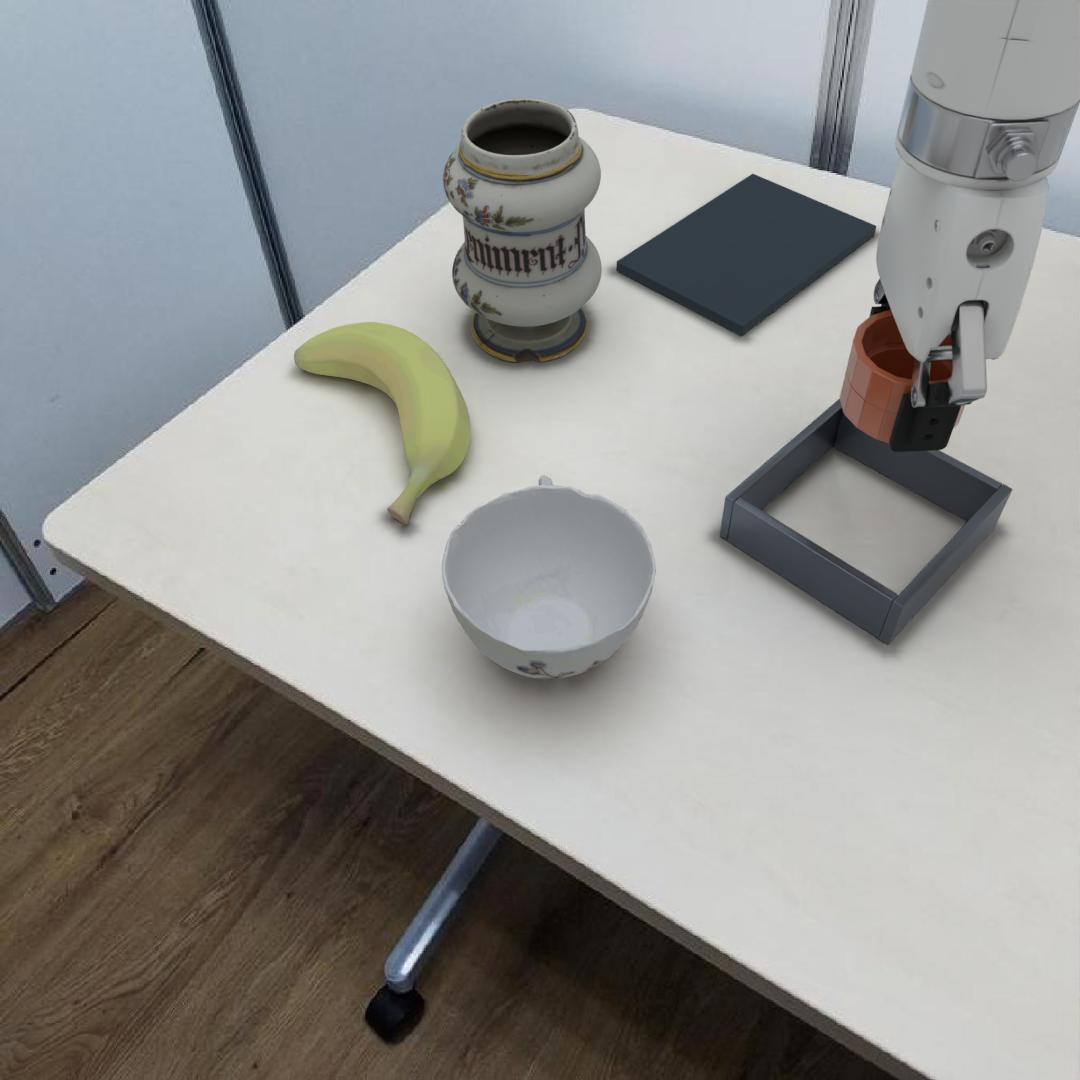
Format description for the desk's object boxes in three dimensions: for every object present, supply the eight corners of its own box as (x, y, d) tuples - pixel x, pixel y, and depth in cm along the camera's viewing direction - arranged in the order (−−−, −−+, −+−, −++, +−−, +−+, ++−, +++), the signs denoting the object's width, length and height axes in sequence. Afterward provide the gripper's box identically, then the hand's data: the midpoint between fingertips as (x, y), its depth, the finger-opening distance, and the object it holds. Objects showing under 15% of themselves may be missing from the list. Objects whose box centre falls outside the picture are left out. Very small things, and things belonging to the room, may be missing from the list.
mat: (751, 182, 100) (752, 173, 99) (874, 235, 93) (876, 225, 93) (616, 270, 91) (616, 261, 90) (741, 336, 84) (742, 326, 84)
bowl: (879, 358, 65) (896, 293, 61) (980, 407, 62) (1004, 341, 58) (816, 413, 62) (829, 349, 58) (918, 468, 59) (939, 404, 55)
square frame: (829, 437, 76) (840, 397, 73) (994, 528, 70) (1013, 488, 67) (719, 536, 70) (724, 496, 67) (887, 645, 64) (902, 607, 61)
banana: (439, 276, 79) (461, 478, 68) (463, 324, 84) (487, 521, 72) (280, 327, 81) (276, 531, 70) (311, 371, 86) (313, 570, 75)
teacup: (657, 721, 61) (665, 644, 55) (450, 727, 61) (435, 651, 55) (638, 532, 71) (643, 450, 65) (459, 538, 71) (448, 457, 65)
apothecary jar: (462, 379, 82) (437, 173, 68) (456, 291, 90) (433, 90, 76) (610, 366, 82) (615, 159, 69) (591, 279, 90) (592, 78, 77)
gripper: (1136, 219, 42) (1007, 506, 56) (1008, 34, 53) (926, 310, 67) (953, 227, 42) (869, 511, 56) (864, 42, 53) (812, 315, 67)
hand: (900, 400), depth 61 cm, fingers closed on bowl, 7 cm apart
